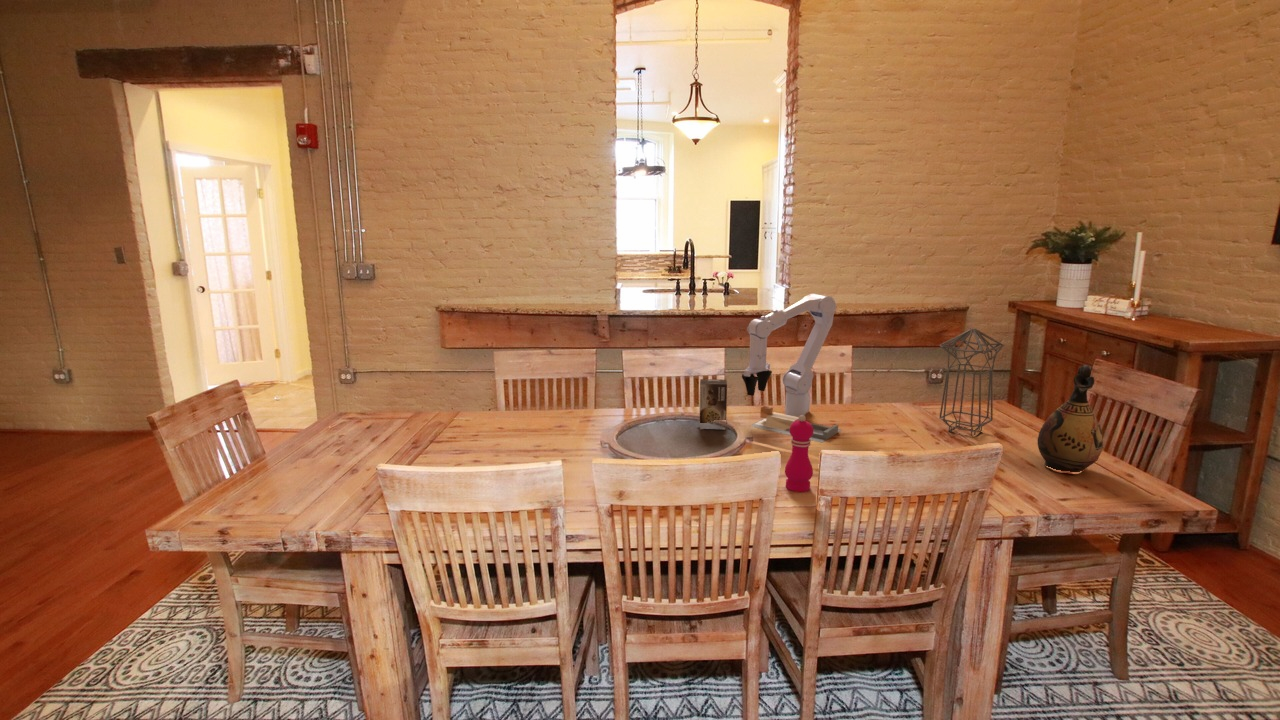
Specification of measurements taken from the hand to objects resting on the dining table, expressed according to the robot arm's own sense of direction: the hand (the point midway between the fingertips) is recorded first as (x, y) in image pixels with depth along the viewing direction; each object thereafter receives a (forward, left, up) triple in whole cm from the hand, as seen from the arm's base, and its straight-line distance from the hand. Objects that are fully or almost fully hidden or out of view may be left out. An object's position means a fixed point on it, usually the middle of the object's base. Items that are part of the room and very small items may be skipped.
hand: (756, 392), depth 226 cm
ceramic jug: (-17, +90, -10) cm, 93 cm away
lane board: (+1, +15, -10) cm, 18 cm away
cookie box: (+16, -8, -10) cm, 20 cm away
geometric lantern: (-33, +59, -10) cm, 69 cm away
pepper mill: (+44, +36, -10) cm, 58 cm away
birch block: (+1, +10, -9) cm, 13 cm away
